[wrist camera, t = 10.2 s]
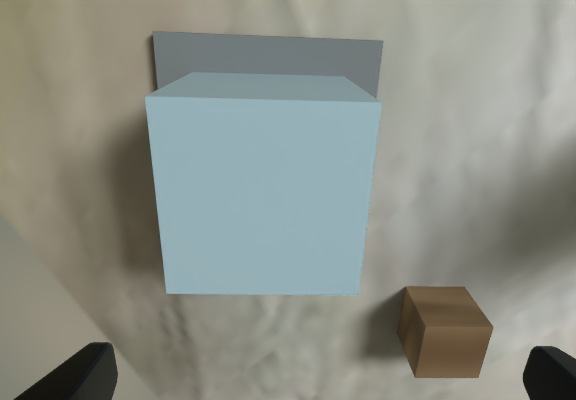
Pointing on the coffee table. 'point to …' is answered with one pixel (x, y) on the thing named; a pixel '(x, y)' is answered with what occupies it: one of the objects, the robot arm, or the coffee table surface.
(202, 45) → the gray square plate
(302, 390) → the coffee table surface
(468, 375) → the walnut block
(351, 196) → the pale blue cube
